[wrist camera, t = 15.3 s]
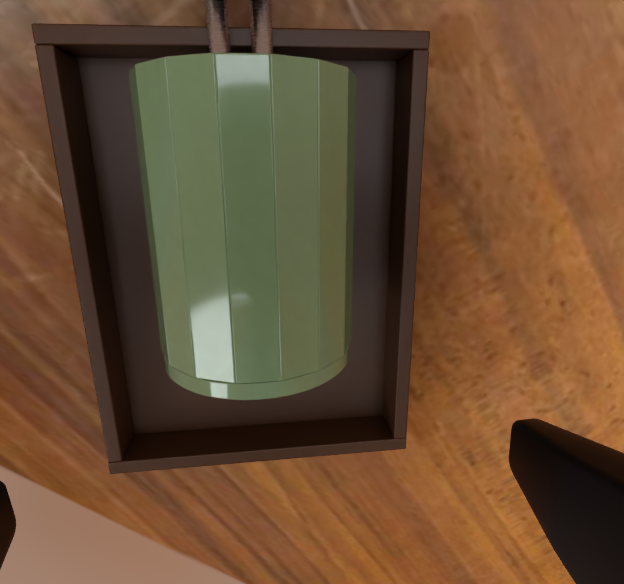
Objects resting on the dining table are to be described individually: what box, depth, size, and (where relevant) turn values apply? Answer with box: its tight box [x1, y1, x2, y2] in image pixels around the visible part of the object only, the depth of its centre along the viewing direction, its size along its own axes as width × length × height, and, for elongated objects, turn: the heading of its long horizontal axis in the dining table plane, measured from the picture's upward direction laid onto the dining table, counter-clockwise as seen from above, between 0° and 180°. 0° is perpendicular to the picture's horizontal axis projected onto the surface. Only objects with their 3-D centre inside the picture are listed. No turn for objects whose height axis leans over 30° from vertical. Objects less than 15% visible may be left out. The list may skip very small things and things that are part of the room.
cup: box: [129, 52, 356, 400], centre depth 15 cm, size 7×7×10 cm
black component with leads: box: [205, 0, 273, 54], centre depth 15 cm, size 4×3×14 cm
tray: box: [31, 23, 430, 474], centre depth 18 cm, size 17×13×2 cm
